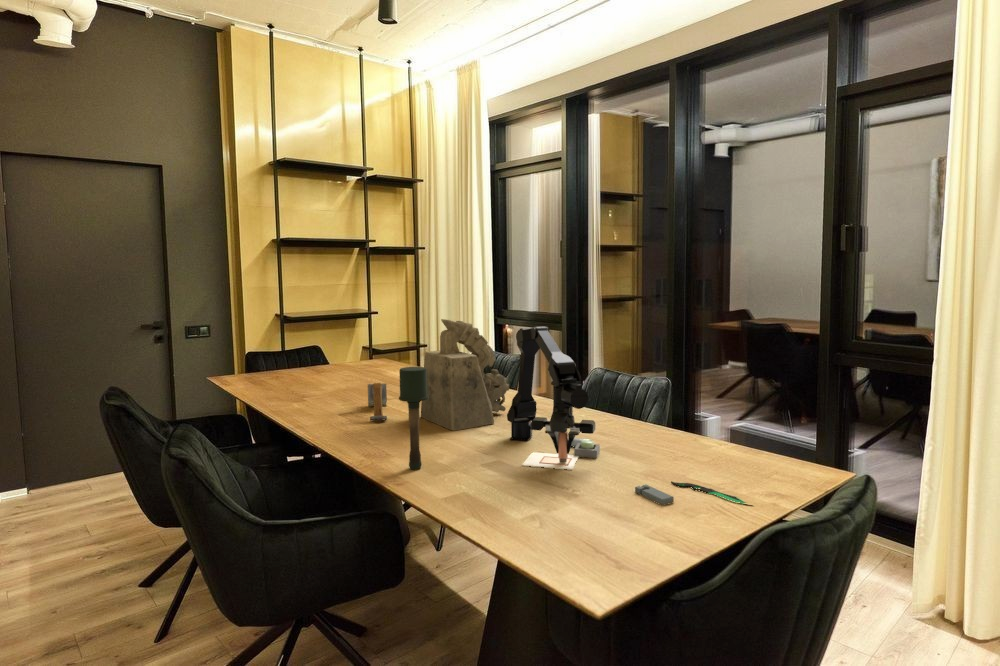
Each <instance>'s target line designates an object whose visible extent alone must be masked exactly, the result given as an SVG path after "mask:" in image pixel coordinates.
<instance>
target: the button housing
mask: <svg viewBox="0 0 1000 666" xmlns="http://www.w3.org/2000/svg"><path fill="white" fill-rule="evenodd" d="M599 452H600V453H601V444H599V443H598V444H597V443H596V444H595V443H594V449H581V443H578V444H577V445H576V447H574V453H573V454H574V456H579V458H584V457H588V459H596V458H597V459H598V457H599V455H600V453H599ZM598 454H599V455H598Z"/></svg>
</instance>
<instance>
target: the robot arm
mask: <svg viewBox="0 0 1000 666" xmlns="http://www.w3.org/2000/svg"><path fill="white" fill-rule="evenodd" d="M515 340H516V346H517V348H518V349H519V351H520V358H519V360H520V361H519V371H518V372H519V374H518V384H517V385H518V386H517V393H516V394H515V395H514V397H513V398H512V400H511V404H510V405H511V406H510V407H509V409H508V412H507V413H506V419H507V421H508V422H509V423H511V424H510V425H511V427H510V429H511V430H510V431H511V432H510V433H511V435H510V436H511V437H510V438H509V439H510V440H512V441H513V440H514V441H526V442H527V441H530V439H531V438H532V437H533V431H541V430H543V429H544V428H545V431H544V433H545V434H547V435H549V437H550V438H551V441H552V443H553V445H554V449H555V451H556V454H558V432H561V433H565V432H568V429H569V432H568V446H567V454H568V455H570V452H571V448H572V447H571V446H572V443H573V440H574V439H576V436H579V434H580V433H582V434H589V435H590V434H594V433H595V431H596V421H595V420H592V419H582V420H581V421H580V422H575V421H576V420H575V415H573V412H574V411H573V408H575V409H579V410H580V409H583V408H584V407H586V406H587V405H588V403H589V395H588V393H587V391H586V390H585V389H584V388H583V381H582V376H581V374H580V371H579V370H578V366H577V365H576V362H575V361H574V360H573V359H572V357H570V356H569V355H567V354H564V353H563V352H562V351H561V349H560V347H559V346H558V344H557V343H556V341H555V340H554V337H553V336H552V335H551V333H550V329H549V327H548V326H533V327H526V328H525V327H524V328H519V329H518V330H517V332H516V334H515ZM539 350H541V352H542V354H543V355H544V357H545V359H546V360H547V363H548V367H547V371H548V373H549V376H550V377H551V379H552V381H551V382H550V384H551V386H552V388H553V390H552V391H553V395H552V396H553V399H552V400H553V404H552V405H553V406H552V413H551V416H550V420H548V417H543V416H536V415H537V410H538V409H537V405H538V404H537V401H536V400H535V399H534V396H533V395H532V394H533V385H534V384H533V383H534V371H535V363H536V362H535V360H536V355H537V353H538V352H539Z"/></svg>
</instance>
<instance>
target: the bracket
mask: <svg viewBox="0 0 1000 666" xmlns="http://www.w3.org/2000/svg"><path fill="white" fill-rule="evenodd" d="M635 492H636V493H635ZM634 493H635V494H637V493H638V494H637V495H639V496H642V497H643V496H644V497H643V498H645V497H646V499H648V500H650V501H652V500H653V501H652V502H654V501H655V502H654V503H656V502H657V503H656V504H658V503H659V504H658V505H660V504H661V505H660V506H665V505H664V504H666V505H669V504H668V503H671V504H673V503H672V502H675V501H674V499H675V498H674V496H673V495H670V494H668V493H666V492H663V491H661V490H659V489H658V488H655V487H653V486H650V485H649V484H643V485H641V486H640V485H637V486H635V487H634ZM640 494H641V495H640Z"/></svg>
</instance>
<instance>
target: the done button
mask: <svg viewBox="0 0 1000 666" xmlns="http://www.w3.org/2000/svg"><path fill="white" fill-rule="evenodd" d="M589 440H590V439H589ZM589 440H584V441H581V449H594V444H595V442H594V441H589Z"/></svg>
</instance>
